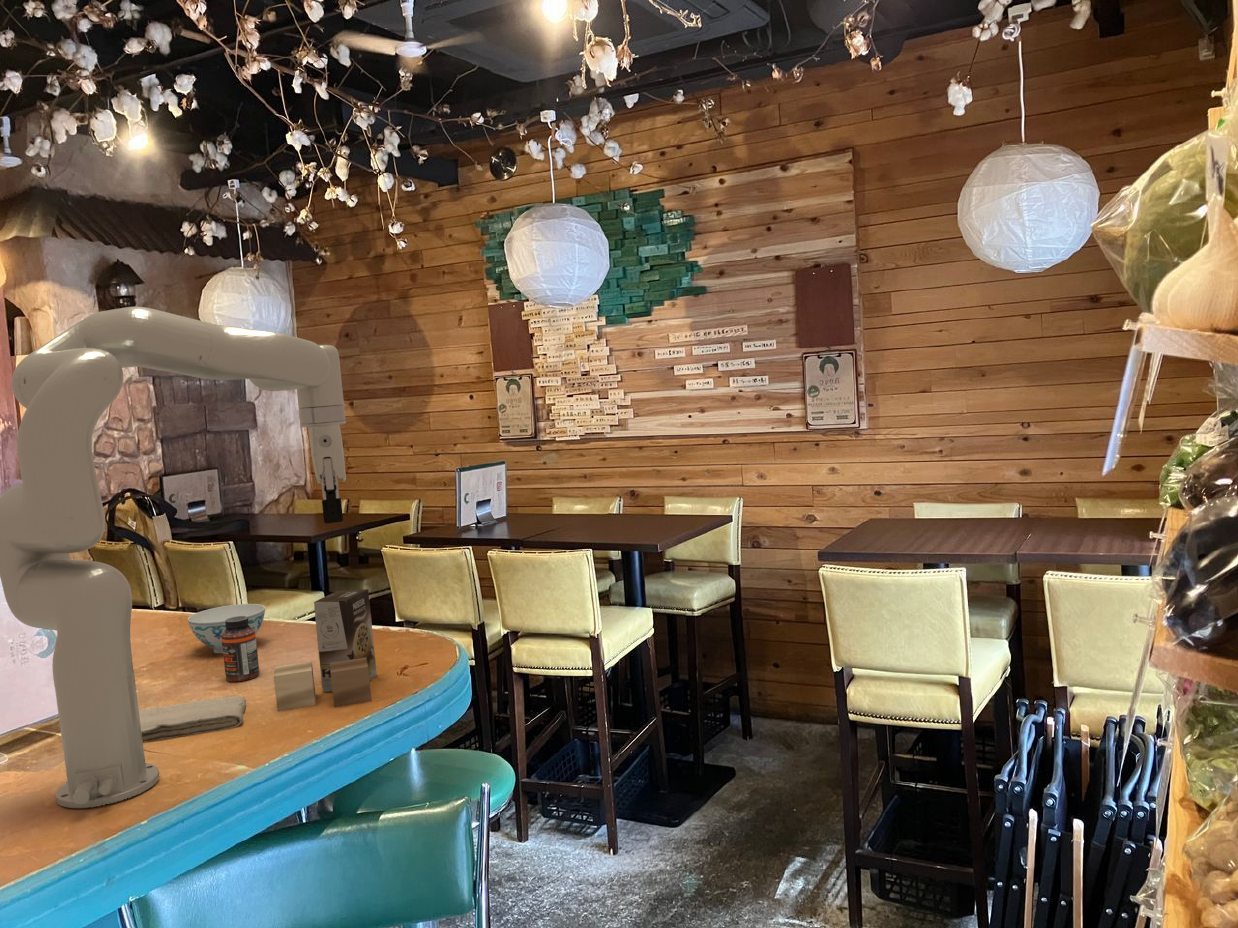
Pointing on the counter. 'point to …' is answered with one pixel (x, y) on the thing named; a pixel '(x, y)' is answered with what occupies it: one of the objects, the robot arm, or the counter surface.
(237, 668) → the supplement bottle
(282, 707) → the beech cube
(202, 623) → the chinaware
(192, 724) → the washcloth
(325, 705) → the counter surface
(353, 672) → the walnut cube
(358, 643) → the coffee box
